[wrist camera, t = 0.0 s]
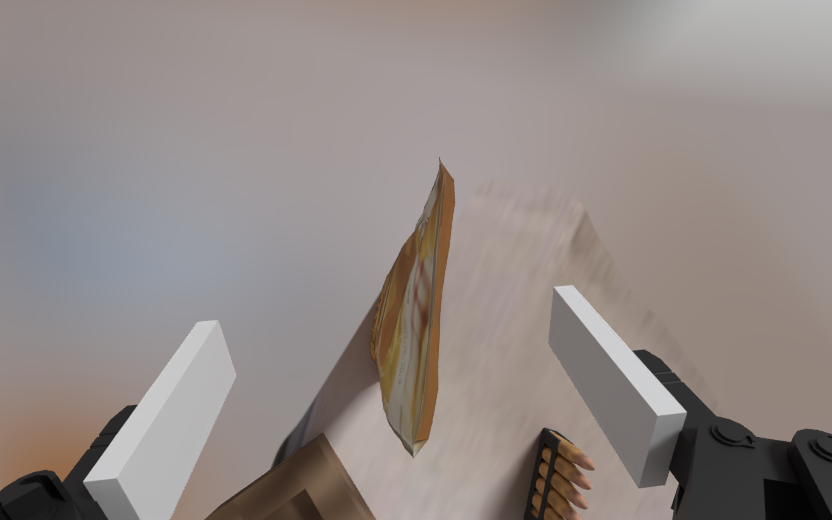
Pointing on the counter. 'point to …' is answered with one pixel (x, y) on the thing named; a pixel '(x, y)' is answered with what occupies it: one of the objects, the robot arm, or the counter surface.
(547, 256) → the counter surface
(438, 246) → the pancake mix bag
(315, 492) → the socket block
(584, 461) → the ammunition clip
